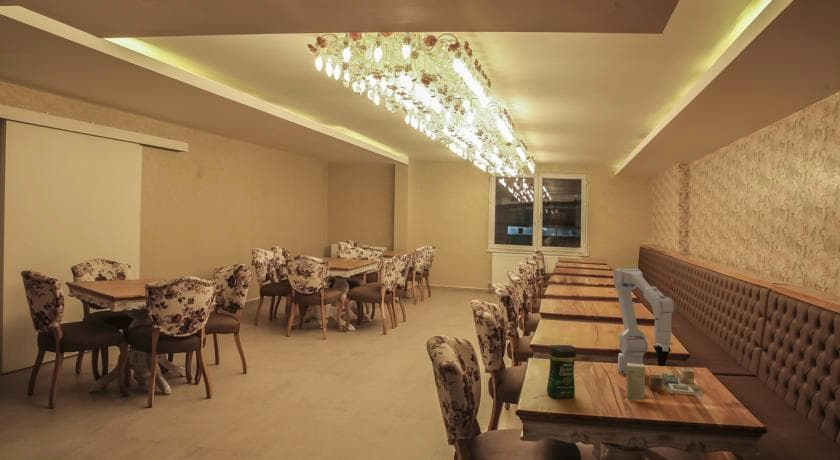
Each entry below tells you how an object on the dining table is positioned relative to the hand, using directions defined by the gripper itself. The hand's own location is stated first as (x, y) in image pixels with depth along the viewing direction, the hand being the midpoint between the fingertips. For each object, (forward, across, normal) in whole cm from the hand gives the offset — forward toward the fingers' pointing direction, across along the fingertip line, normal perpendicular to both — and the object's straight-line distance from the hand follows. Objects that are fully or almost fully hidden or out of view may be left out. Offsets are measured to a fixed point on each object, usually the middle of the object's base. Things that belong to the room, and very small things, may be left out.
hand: (661, 365), depth 207 cm
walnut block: (+10, -3, +2) cm, 10 cm away
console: (+8, +6, -4) cm, 11 cm away
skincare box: (+10, -12, +11) cm, 19 cm away
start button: (+8, +6, -4) cm, 11 cm away
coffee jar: (+10, -17, +37) cm, 42 cm away
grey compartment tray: (+10, +1, -8) cm, 12 cm away
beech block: (+8, +5, -10) cm, 14 cm away
